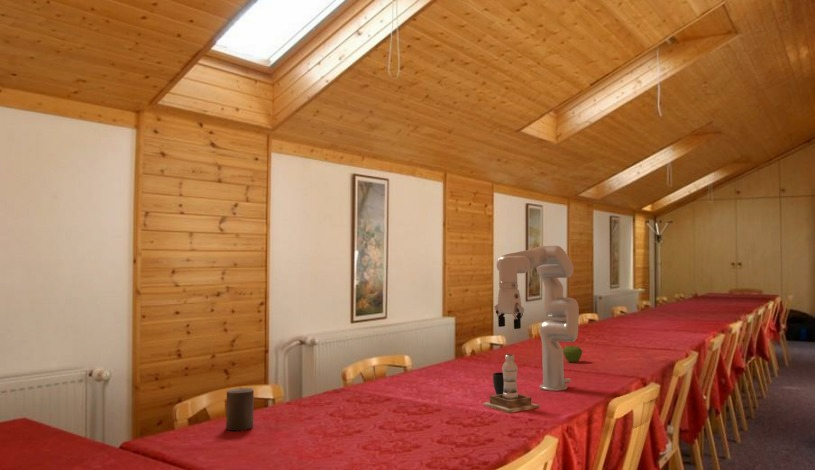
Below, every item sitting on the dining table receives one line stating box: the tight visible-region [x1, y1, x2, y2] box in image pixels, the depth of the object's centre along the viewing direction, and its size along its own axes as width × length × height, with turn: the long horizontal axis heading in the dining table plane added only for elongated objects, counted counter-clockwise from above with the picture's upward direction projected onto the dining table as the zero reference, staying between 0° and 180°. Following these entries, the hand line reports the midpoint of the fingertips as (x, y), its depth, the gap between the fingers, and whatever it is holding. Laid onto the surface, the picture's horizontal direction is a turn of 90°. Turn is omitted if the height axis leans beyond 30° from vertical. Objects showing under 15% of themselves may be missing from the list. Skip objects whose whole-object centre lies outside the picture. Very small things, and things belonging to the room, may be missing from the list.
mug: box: [492, 371, 518, 395], centre depth 275 cm, size 8×12×10 cm
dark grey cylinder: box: [225, 387, 255, 432], centre depth 228 cm, size 10×10×15 cm
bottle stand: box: [482, 393, 540, 414], centre depth 255 cm, size 16×16×4 cm
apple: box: [562, 345, 583, 363], centre depth 362 cm, size 11×10×10 cm
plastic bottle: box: [501, 353, 519, 400], centre depth 256 cm, size 6×7×20 cm
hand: (509, 327), depth 257 cm, fingers open, 9 cm apart
